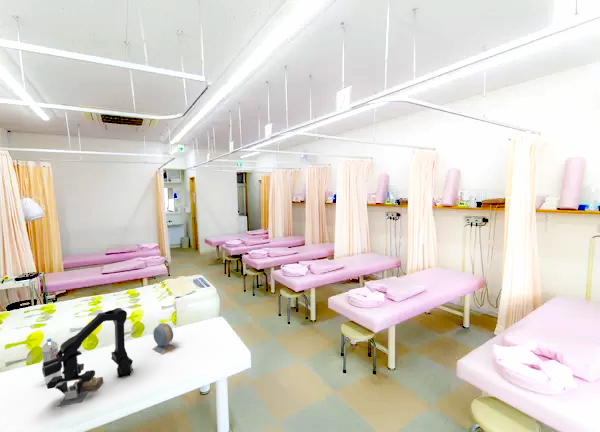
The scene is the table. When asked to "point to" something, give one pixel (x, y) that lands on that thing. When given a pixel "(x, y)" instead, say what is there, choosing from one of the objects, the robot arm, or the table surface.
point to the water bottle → (50, 356)
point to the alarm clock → (163, 338)
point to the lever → (94, 381)
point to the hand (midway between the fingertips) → (73, 394)
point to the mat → (73, 399)
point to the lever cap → (71, 392)
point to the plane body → (87, 386)
